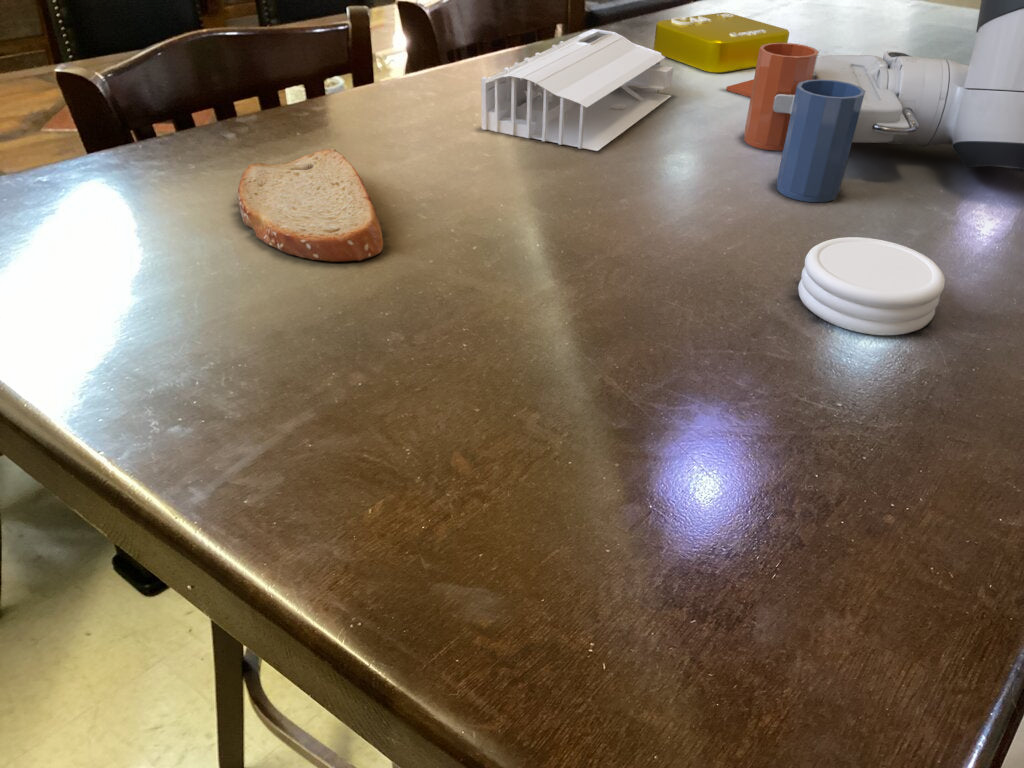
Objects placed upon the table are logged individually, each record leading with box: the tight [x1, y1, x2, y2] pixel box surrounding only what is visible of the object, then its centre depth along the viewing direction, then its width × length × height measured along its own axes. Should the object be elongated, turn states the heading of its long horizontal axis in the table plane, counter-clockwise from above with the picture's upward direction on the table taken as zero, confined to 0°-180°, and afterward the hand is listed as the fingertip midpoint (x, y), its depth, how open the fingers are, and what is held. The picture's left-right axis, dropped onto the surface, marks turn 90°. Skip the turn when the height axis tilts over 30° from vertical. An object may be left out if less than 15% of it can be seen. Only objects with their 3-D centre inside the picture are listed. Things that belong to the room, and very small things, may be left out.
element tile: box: [653, 12, 790, 74], centre depth 122 cm, size 15×15×5 cm
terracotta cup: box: [743, 42, 820, 152], centre depth 90 cm, size 6×6×10 cm
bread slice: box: [237, 148, 384, 262], centre depth 75 cm, size 18×18×4 cm
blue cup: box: [775, 79, 866, 203], centre depth 79 cm, size 6×6×10 cm
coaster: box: [797, 236, 946, 336], centre depth 62 cm, size 10×10×4 cm
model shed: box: [480, 28, 674, 152], centre depth 99 cm, size 25×15×7 cm, turn 151°
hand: (772, 91), depth 90 cm, fingers closed on terracotta cup, 6 cm apart
